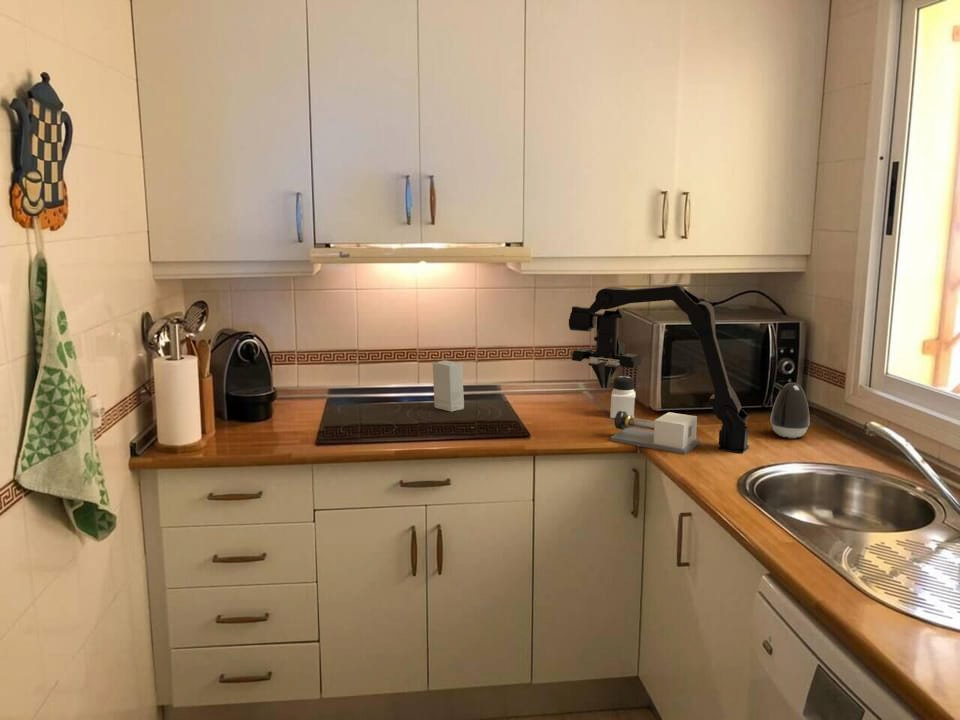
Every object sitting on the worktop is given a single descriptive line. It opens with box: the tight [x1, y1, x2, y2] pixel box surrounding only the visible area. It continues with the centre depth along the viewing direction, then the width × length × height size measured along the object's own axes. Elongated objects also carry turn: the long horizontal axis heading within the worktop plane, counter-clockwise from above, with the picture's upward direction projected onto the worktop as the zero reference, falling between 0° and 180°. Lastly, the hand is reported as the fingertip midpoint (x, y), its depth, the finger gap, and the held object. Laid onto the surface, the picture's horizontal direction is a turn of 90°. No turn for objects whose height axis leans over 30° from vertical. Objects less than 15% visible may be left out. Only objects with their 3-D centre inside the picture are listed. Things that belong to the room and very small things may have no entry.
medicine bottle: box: [609, 376, 636, 419], centre depth 243 cm, size 7×7×12 cm
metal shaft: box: [614, 411, 655, 431], centre depth 219 cm, size 16×5×5 cm, turn 56°
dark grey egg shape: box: [770, 382, 811, 439], centre depth 223 cm, size 10×10×15 cm
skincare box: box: [432, 360, 465, 412], centre depth 251 cm, size 8×6×15 cm
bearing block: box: [609, 411, 701, 455], centre depth 217 cm, size 21×12×8 cm, turn 56°
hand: (604, 387), depth 224 cm, fingers closed
